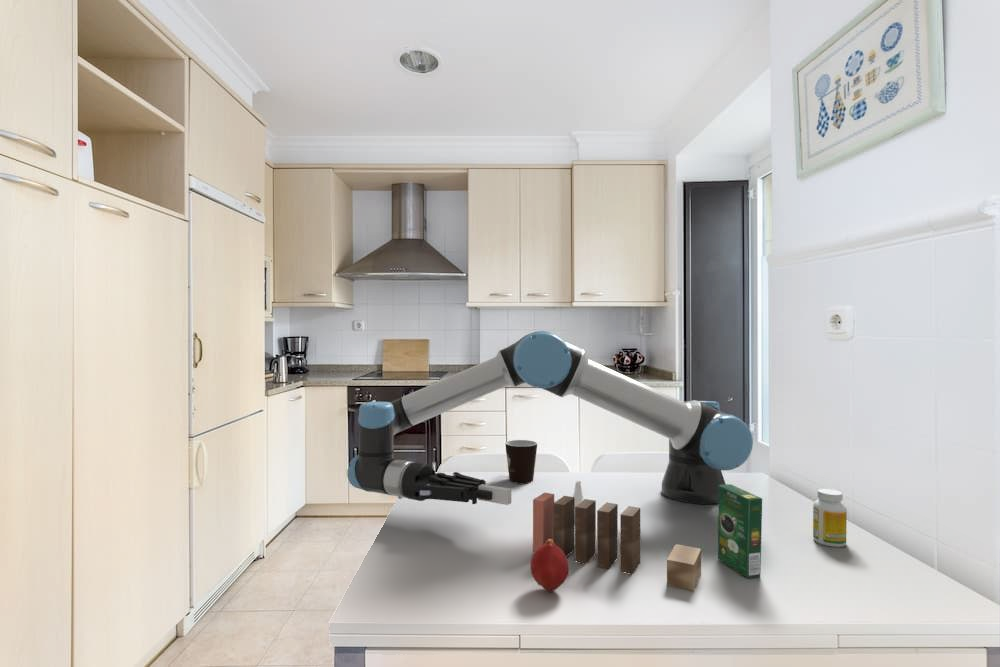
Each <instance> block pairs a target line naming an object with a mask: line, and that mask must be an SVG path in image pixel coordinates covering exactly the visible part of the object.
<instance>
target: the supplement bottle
mask: <svg viewBox="0 0 1000 667" xmlns="http://www.w3.org/2000/svg"><path fill="white" fill-rule="evenodd" d="M843 499H844V498H843V493H842V491H839V490H836V489H832V488H819V489H818V490H817V499H816V500H815V501H814V502H813V505H812V506H813V509H812V510H813V511H812V512H813V514H812V538H813V540H814V541H815V542H816V543H817V544H820V545H822V546H827V547H831V548H843V547H845V546H846V545H847V517H848V516H847V513H848V512H847V506H846V505H845V504H844V503H843V502H842V501H843Z"/></svg>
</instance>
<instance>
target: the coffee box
mask: <svg viewBox="0 0 1000 667" xmlns="http://www.w3.org/2000/svg"><path fill="white" fill-rule="evenodd" d="M717 504H718V507H717V508H718V511H717V512H718V514H717V515H718V519H717V527H718V528H717V559H718V560H719V561H721V562H722V563H723V564H725V565H727V566H728V567H730V568H732V569H733V570H734V571H736V572H737V573H738V574H739V575H742V576H743V577H745V578H747V579H756V578H760V577H761V567H762V566H761V565H762V559H761V558H762V531H763V530H762V526H763V525H762V522H763V521H762V520H763V519H762V518H763V498H762V497H760V496H757V495H755V494H753V493H750V492H748V491H746V490H744V489H742V488H741V487H740V488H739V486H738V487H737V486H736V485H733V484H731V483H730V484H726V483H725V485H719V503H717Z"/></svg>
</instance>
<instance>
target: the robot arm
mask: <svg viewBox="0 0 1000 667" xmlns="http://www.w3.org/2000/svg"><path fill="white" fill-rule="evenodd" d="M524 384H526V385H529V386H531V387H533V388H538V389H542V390H544V391H547V392H549V393H551V394H553V395H555V396H558V397H560V398H564V397H567V396H569V395H573V396H574V397H577V398H579V399H582V400H583V401H585V402H588V403H590V404H592V405H594V406H596V407H598V408H601V409H603V410H605V411H607V412H610V413H612V414H615V415H616V416H618V417H621V418H623V419H626V420H628V421H630V422H632V423H634V424H635V425H636V424H637V425H639V426H640V427H643V428H645V429H648V430H650V431H651V432H653V433H657V434H658V435H660V436H662V437H666V438H667V439H668V464H667V467H666V469H665V473H664V475H663V478H662V480H661V493H662V494H663V495H664V496H665V497H667V498H669V499H671V500H675V501H679V502H683V503H690V504H700V505H711V504H718V503H719V485H725V484H726V481H725V478H724V475H723V472H722V471H733V470H735V469H737V468H739V467H740V466H742V465H743V464H745V462H746V461H747V460H748V459H749V457H750V455H751V453H752V451H753V446H754V445H753V443H754V441H753V440H754V439H753V435H752V432H751V429H750V427H749V426H748V424H746V423H745V421H743V420H742V419H741V418H739V416H736V415H733V414H728V413H726V412H723V411H721V408H720V404H719V402H717V401H712V400H710V401H708V400H697V399H696V400H695V399H692V400H688V401H687V400H685V401H684V400H679V399H678V398H675V397H673V396H671V395H668V394H666V393H664V392H662V391H661V390H658V389H655V388H653V387H651V386H648V385H647V384H644V383H642V382H641V381H637V380H635V379H633V378H632V377H629V376H627V375H624V374H622V373H620V372H617V371H616V370H614V369H611V368H609V367H606V366H605V365H602V364H601V363H598V362H595V361H593V360H591V359H589V358H588V357H587V355H586V353H585V350H584V349H583V348H582V347H579V346H577V345H575V344H573V343H570V342H568V341H566V340H564V339H562V338H561V337H560V336H558V335H557V334H555V333H552V332H550V331H544V330H543V331H542V330H541V331H534V332H531V333H528V334H526V335H524V336H523V337H522V338H519V340H517V341H516V342H514V343H512V344H510V345H509V346H507V347H505V348H503V349H500V350H498V352H497V354H496V356H494V357H492V358H490V359H487V360H485V361H482V362H480V363H478V364H476V365H474V366H471V367H469V368H466V369H464V370H462V371H460V372H458V373H457V372H456V373H454V374H453V375H450V376H448V377H445V378H443V379H441V380H438V381H436V382H434V383H432V384H430V385H427V386H425V387H423V388H421V389H418V390H416V391H413V392H410V393H409V394H406V395H403V396H402V397H400V398H397V399H395V400H392V401H368V402H363V403H362V404H360V406H359V410H358V411H359V412H358V418H357V423H358V454H357V455H356V456H354V457H353V458H352V459H351V460H350V462H349V467H348V468H347V470H346V471H347V472H346V473H347V479H348V482H349V484H350V485H351V486H352V487H354V488H356V489H359V490H363V491H365V492H369V493H371V492H372V493H377V494H382V495H383V494H384V495H388V496H395V497H397V499H399V500H402V499H403V498H405V499H408V500H413V501H418V502H424V501H426V500H437V501H447V502H448V501H449V502H461V503H469V502H470V501H471V504H472V505H476V504H477V503H478V501H483V502H489V503H494V504H500V505H505V506H509V505H511V504H512V488H509V487H505V486H504V487H502V486H496V485H491V484H490V485H489V484H487V483H486V480H485V479H480V478H478V477H477V478H476V477H472V476H468V475H465V474H461V473H460V472H458V471H455V472H453V473H452V474H451V475H450V474H446V473H444V472H435V469H434V467H433V466H432V465H431V464H428V463H425V462H424V463H423V462H418V461H417V462H416V461H415V462H414V461H411V460H404V459H397V458H394V438H395V435H396V434H398V433H400V432H402V431H404V430H407V429H410V428H411V427H413V426H415V425H418V424H420V423H423V422H425V421H428V420H430V419H432V418H434V417H437V416H439V415H441V414H444V413H446V412H448V411H451V410H453V409H456V408H458V407H460V406H462V405H465V404H467V403H469V402H472V401H474V400H477V399H479V398H482V397H484V396H487V395H488V394H491V393H493V392H496V391H498V390H500V389H502V388H505V387H508V386H510V387H513V388H516V387H518V386H520V385H524Z"/></svg>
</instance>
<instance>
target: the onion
mask: <svg viewBox="0 0 1000 667" xmlns="http://www.w3.org/2000/svg"><path fill="white" fill-rule="evenodd" d="M569 571H570V564H569V561H568V558H567V557H566V555H565V554H564V552H563V551H562V550H561V549H560V548H559V547H558V546H557V545H555V544H554V542H553V540H551V539H548V540H547V541H546V543H545V544H544V545H542V546H541V547H539V548H538V549H537V550H536V552H535V553H534V554H533V556H532V557H531V560H530V572H531V575H532V577H533V580H534V581H535V582H536V583H537V584H538V585H539V586H541V587H542V588H543V589H544V590H545V591H547V592H548V593H553V592H554V591H555V590H556V589H558V588H559V587H560V586H561V585H562V584H564V582H566V579H567V578H568V577H569V573H570V572H569Z"/></svg>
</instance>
